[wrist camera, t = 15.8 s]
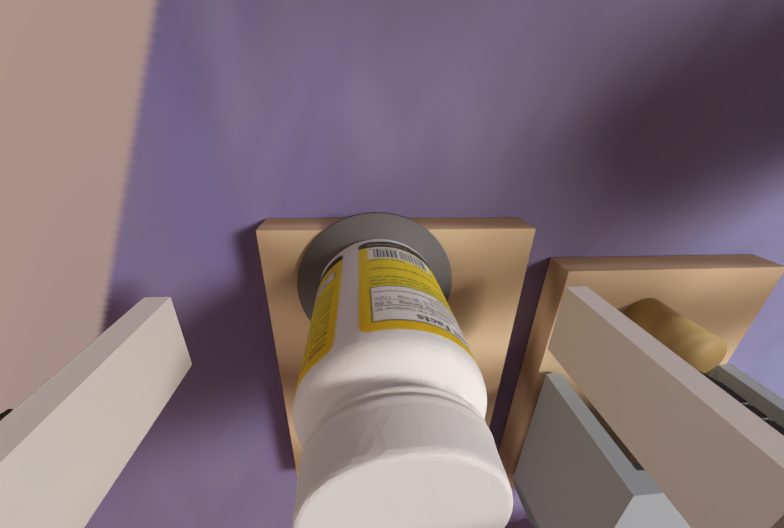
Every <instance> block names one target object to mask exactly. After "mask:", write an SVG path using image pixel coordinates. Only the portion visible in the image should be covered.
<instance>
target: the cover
mask: <svg viewBox="0 0 784 528" xmlns="http://www.w3.org/2000/svg"><path fill="white" fill-rule="evenodd" d="M711 377H712V378H714V379H715V380H717V381H719V382H721V383H723V384H725V385H726V386H727V387H729V388H730V389H731V390H733V391H734V392H735V393H737V394H738V395H739V396H741V397H742V398H743V399H745V400H746V401H748V404H749V405H750V406H754V407H756V408H757V409H758V410H760V411H761V412H762V413H764V414H765V415H766V416H768V419H769V420H770V421H775V422H776V423H777V424H779V425H780V426H781V427H783V428H784V399H782V398H781V397H779V396H778V395H776V394H775V393H773V392H772V391H770V390H769V389H767V388H766V387H764V386H763V385H761V384H760V383H758V382H757V381H755V380H754V379H752V378H751V377H750V376H748V375H747V374H745V373H744V372H742V371H741V370H739V369H738V368H736V367H735V366H733V365H732V364H723V365H717V367H716V369H715V370H714V372H713V374H712V375H711ZM513 483H514V485H515V488H516V490H517V493H518V495H519V497H520V500H521V502H522V505H523V507H524V509H525V512H526V514H527V517H528V519H529V521H530V524H531V526H532V528H691V527H690V526H689V524H688V523H687V522H686V521H685V519H684V518H683V517H682V516H681V514H680V513H679V512H678V511H677V509H676V508H675V507H674V506H673V504H672V503H671V502H670V501H669V499H668V498H667V497H666V496H665V494H664V493H663V492H662V491H661V489H660V488H659V487H658V486H657V484H656V483H655V482H654V481H653V479H652V478H651V477H650V476H649V474H648V473H647V472H646V471H645V469H644V468H643V467H642V466H641V464H640V463H630V461H629V460H628V459H627V458H626V456H625V455H624V454H623V452H622V451H621V450H620V449H619V447H618V446H617V445H616V443H615V442H614V441H613V440H612V438H611V437H610V436H609V434H608V433H607V432H606V431H605V429H604V428H603V427H602V425H601V424H600V423H599V422H598V420H597V419H596V418H595V416H594V415H593V414H592V413H591V411H590V410H589V409H588V407H587V406H586V405H585V404H584V402H583V401H582V400H581V398H580V397H579V396H578V395H577V393H576V392H575V391H574V389H573V388H572V387H571V386H570V384H569V383H568V382H567V380H566V379H565V378H564V377H563V375H562V374H561V373H556V374H546V376H545V379H544V383H543V386H542V389H541V392H540V395H539V398H538V402H537V405H536V408H535V411H534V414H533V417H532V421H531V424H530V427H529V430H528V433H527V436H526V440H525V443H524V446H523V449H522V452H521V456H520V459H519V462H518V465H517V468H516V471H515V475H514V478H513Z"/></svg>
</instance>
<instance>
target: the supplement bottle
mask: <svg viewBox="0 0 784 528" xmlns="http://www.w3.org/2000/svg"><path fill="white" fill-rule="evenodd" d="M486 409H487V393H486V387H485V383H484V380H483V376H482V373H481V371H480V369H479V367H478V364H477V362H476V360H475V358H474V356H473V354H472V352H471V350H470V348H469V346H468V344H467V342H466V340H465V337H464V335H463V334H462V332H461V330H460V328H459V325H458V323H457V321H456V319H455V317H454V315H453V313H452V311H451V309H450V307H449V305H448V303H447V301H446V299H445V297H444V295H443V293H442V291H441V288H440V286H439V284H438V283H437V281H436V278H435V276H434V274H433V272H432V270H431V268H430V266H429V265H428V263H427V262H426V261H425V259H424V258H423V257H422V256H421V255H420V254H419V253H418V252H416V251H415V250H414V249H412V248H411V247H409V246H407V245H405V244H403V243H400V242H397V241H393V240H387V239H371V240H365V241H361V242H358V243H355V244H353V245H351V246H349V247H347V248H346V249H344V250H343V251H341V252H340V253H338V254H337V255H336V256H335V257H334V258H333V259H332V260H331V261H330V262H329V264H328V265H327V266H326V268H325V270H324V271H323V274H322V276H321V279H320V282H319V286H318V291H317V295H316V300H315V305H314V309H313V314H312V319H311V324H310V328H309V332H308V337H307V342H306V346H305V351H304V356H303V360H302V365H301V370H300V374H299V378H298V383H297V387H296V392H295V396H294V403H293V421H294V428H295V432H296V435H297V438H298V440H299V442H300V444H301V446H302V448H303V451H302V458H301V463H300V469H299V478H298V484H297V490H296V497H295V504H294V512H293V519H292V528H504V527H505V526H506V524H507V523H508V521H509V519H510V516H511V513H512V508H513V496H512V490H511V486H510V483H509V480H508V477H507V475H506V472H505V469H504V467H503V464H502V462H501V459H500V456H499V454H498V451H497V448H496V445H495V442H494V438H493V435H492V433H491V431H490V430H489V428H488V426H487V424H486V422H485V420H484V419H485V415H486Z"/></svg>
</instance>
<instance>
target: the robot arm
mask: <svg viewBox="0 0 784 528" xmlns="http://www.w3.org/2000/svg"><path fill="white" fill-rule="evenodd" d="M548 350H549V351H550V352H551V353H552V355H553V356H554V357H555V358H556V360H557V361H558V362H559V363H560V365H561V366H562V367H563V368H564V370H565V371H566V372H567V373H568V375H569V376H570V377H571V378H572V380H573V381H574V382H575V383H576V385H577V386H578V387H579V388H580V390H581V391H582V392H583V393H584V395H585V396H586V397H587V398H588V400H589V401H590V402H591V403H592V405H593V406H594V407H595V408H596V410H597V411H598V412H599V413H600V415H601V416H602V417H603V418H604V420H605V421H606V422H607V423H608V425H609V426H610V427H611V428H612V430H613V431H614V432H615V433H616V434H617V436H618V437H619V438H620V439H621V441H622V442H623V443H624V444H625V446H626V447H627V448H628V449H629V451H630V452H631V453H632V454H633V456H634V457H635V458H636V459H637V461H638V462H639V463H640V464H641V466H642V467H643V468H644V469H645V471H646V472H647V473H648V474H649V476H650V477H651V478H652V479H653V481H654V482H655V483H656V484H657V486H658V487H659V488H660V489H661V491H662V492H663V493H664V494H665V496H666V497H667V498H668V499H669V501H670V502H671V503H672V504H673V506H674V507H675V508H676V509H677V511H678V512H679V513H680V514H681V516H682V517H683V518H684V519H685V521H686V522H687V523H688V524H689V526H690V527H691V528H784V428H783V427H781V426H780V425H779V424H777V423H776V422H775V421H770V420H769V419H768V416H766V415H765V414H764V413H762V412H761V411H760V410H758V409H757V408H756V407H754V406H750V405H749V404H748V401H746V400H745V399H743V398H742V397H741V396H739V395H738V394H737V393H735V392H734V391H733V390H731V389H730V388H729V387H727V386H726V385H725V384H723V383H721V382H719V381H717V380H715V379H714V378H712V377H710V376H708V375H706V374H704V373H702V372H701V371H699V370H696V369H695V368H694V367H692V366H691V365H690V364H688V363H687V362H686V361H684V360H683V359H682V358H681V357H679V356H678V355H677V354H675V353H674V352H673V351H671V350H670V349H669V348H667V347H666V346H665V345H663V344H662V343H661V342H659V341H658V340H657V339H655V338H654V337H653V336H652V335H650V334H649V333H648V332H646V331H645V330H644V329H642V328H641V327H640V326H638V325H637V324H636V323H634V322H633V321H632V320H630V319H629V318H628V317H627V316H625V315H624V314H623V313H621V312H620V311H619V310H617V309H616V308H615V307H613V306H612V305H611V304H609V303H608V302H607V301H605V300H604V299H603V298H601V297H600V296H599V295H598V294H596V293H595V292H594V291H592V290H591V289H590V288H588V287H587V286H573V287H566V289H565V292H564V295H563V299H562V302H561V305H560V309H559V312H558V315H557V318H556V322H555V325H554V328H553V332H552V335H551V338H550V342H549V345H548ZM191 366H192V362H191V359H190V356H189V353H188V350H187V347H186V343H185V340H184V337H183V334H182V331H181V328H180V325H179V322H178V319H177V316H176V313H175V309H174V306H173V303H172V300H171V297H145V298H143V299H142V300H141V301H139V302H138V303H137V304H136V305H135V306H134V307H132V308H131V309H130V310H129V311H128V312H127V313H125V314H124V315H123V316H122V317H121V318H120V319H118V320H117V321H116V322H115V323H114V324H113V325H111V326H110V327H109V328H108V329H107V330H106V331H104V332H103V333H102V334H101V335H100V336H99V337H97V338H96V339H95V340H94V341H93V342H92V343H91V344H89V345H88V346H87V347H86V348H85V349H83V350H82V351H81V352H80V353H79V354H78V355H76V356H75V357H74V358H73V359H72V360H71V361H69V362H68V363H67V364H66V365H65V366H64V367H63V368H61V369H60V370H59V371H58V372H57V373H56V374H54V375H53V376H52V377H51V378H50V379H48V381H46V382H45V383H44V384H43V385H41V386H40V387H39V388H38V389H37V390H36V391H35V392H34V393H32V394H31V395H30V396H29V397H28V398H26V399H25V400H24V401H23V402H22V403H21V404H19V405H18V406H17V407H16V408H15V409H8V410H6V411H5V412H3V413H1V414H0V528H84V527H85V526H86V524H87V523H88V521H89V520H90V518H91V517H92V515H93V514H94V512H95V511H96V509H97V508H98V506H99V505H100V503H101V501H102V500H103V498H104V497H105V495H106V494H107V492H108V491H109V489H110V488H111V486H112V485H113V483H114V482H115V480H116V479H117V477H118V476H119V474H120V473H121V471H122V470H123V468H124V467H125V465H126V464H127V462H128V461H129V459H130V458H131V456H132V455H133V453H134V452H135V450H136V449H137V447H138V446H139V444H140V443H141V441H142V440H143V438H144V437H145V435H146V434H147V432H148V431H149V429H150V428H151V426H152V425H153V423H154V422H155V420H156V419H157V417H158V416H159V414H160V413H161V411H162V410H163V408H164V407H165V405H166V403H167V402H168V400H169V399H170V397H171V396H172V394H173V393H174V391H175V390H176V388H177V387H178V385H179V384H180V382H181V381H182V379H183V378H184V376H185V375H186V373H187V372H188V370H189V369H190V367H191Z"/></svg>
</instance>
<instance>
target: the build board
mask: <svg viewBox="0 0 784 528" xmlns="http://www.w3.org/2000/svg"><path fill="white" fill-rule="evenodd" d="M535 231H536V228H534V227H533V226H531V225H530V224H528V223H526V222H525V221H523V220H522V219H520V218H406V217H403V216H400V215H396V214H391V213H382V212H371V213H362V214H357V215H353V216H350V217H347V218H269V219H265V221H264V222H263V223H262V224H261V225H260V226H259V227H258V229H257V230H256V235H257V241H258V247H259V253H260V259H261V265H262V271H263V276H264V282H265V288H266V294H267V300H268V306H269V312H270V318H271V324H272V330H273V336H274V342H275V347H276V353H277V359H278V365H279V371H280V377H281V383H282V389H283V395H284V401H285V407H286V412H287V418H288V424H289V430H290V436H291V442H292V448H293V454H294V460H295V466H296V472H297V478H299V469H300V463H301V458H302V451H303V448H302V446H301V444H300V442H299V440H298V438H297V435H296V432H295V428H294V421H293V403H294V396H295V392H296V387H297V383H298V378H299V374H300V370H301V365H302V360H303V356H304V351H305V346H306V342H307V337H308V332H309V328H310V324H311V319H312V314H313V309H314V305H315V300H316V295H317V291H318V286H319V282H320V279H321V276H322V274H323V271H324V270H325V268H326V266H327V265H328V264H329V262H330V261H331V260H332V259H333V258H334V257H335V256H336V255H337V254H338V253H340V252H341V251H343V250H344V249H346V248H347V247H349V246H351V245H353V244H355V243H358V242H361V241H365V240H371V239H387V240H393V241H397V242H400V243H403V244H405V245H407V246H409V247H411V248H412V249H414V250H415V251H416V252H418V253H419V254H420V255H421V256H422V257H423V258H424V259H425V261H426V262H427V263H428V265H429V266H430V268H431V270H432V272H433V274H434V276H435V278H436V281H437V283H438V284H439V286H440V288H441V291H442V293H443V295H444V297H445V299H446V301H447V303H448V305H449V307H450V309H451V311H452V313H453V315H454V317H455V319H456V321H457V323H458V325H459V328H460V330H461V332H462V334H463V335H464V337H465V340H466V342H467V344H468V346H469V348H470V350H471V352H472V354H473V356H474V358H475V360H476V362H477V364H478V367H479V369H480V371H481V373H482V376H483V380H484V383H485V387H486V393H487V409H486V415H485V419H484V420H485V422H486V424H487V426H488V428H489V427H490V423H491V418H492V414H493V410H494V405H495V401H496V397H497V393H498V388H499V384H500V380H501V376H502V371H503V367H504V363H505V359H506V354H507V350H508V346H509V341H510V337H511V333H512V329H513V324H514V320H515V316H516V312H517V307H518V303H519V299H520V295H521V290H522V286H523V282H524V277H525V273H526V269H527V265H528V260H529V256H530V252H531V248H532V243H533V239H534V235H535Z"/></svg>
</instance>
